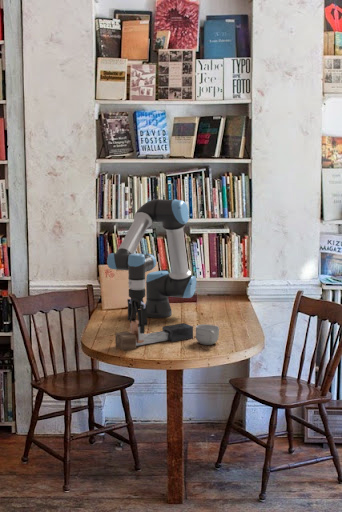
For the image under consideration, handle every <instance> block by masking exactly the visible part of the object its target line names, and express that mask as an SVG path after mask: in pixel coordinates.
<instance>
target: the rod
mask: <svg viewBox="0 0 342 512" xmlns="http://www.w3.org/2000/svg"><path fill="white" fill-rule="evenodd" d="M138 325H139V321H138V319H136V320H134V321H131V322H130V333H132V334H134V335H136V347H138V346H142V345H148V344H149V345H150V344H155V343H159V342H166V341H170V332H169V331H167V330H166V331H156V332H150V333H144V340H138Z"/></svg>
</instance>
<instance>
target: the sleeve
mask: <svg viewBox="0 0 342 512" xmlns="http://www.w3.org/2000/svg"><path fill="white" fill-rule="evenodd" d="M161 330H162V331H166V330H167V331H169V332H170V340H169V342H170V343H174V342H179V341H185V340H190V339H193V338H194V332H193V331H194V326H192V325H191V324H190V325H189V324H188V323H184V322H183V323H177V324H175V323H174V324H169V325H165V326H162V329H161Z"/></svg>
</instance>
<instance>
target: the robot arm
mask: <svg viewBox="0 0 342 512" xmlns="http://www.w3.org/2000/svg"><path fill="white" fill-rule="evenodd" d="M189 215H190V211H189V207H188V205H187V203H186V202H185V201H184V200H182V199H159V198H155V199H151V200H149V201H147V202H145V203H144V204H142V205H141V206H140V207H139V208H138V209H137V211H136V212H135V213H134V215H133V221H132V224H131V225H130V227H129V229H128V231H127V232H126V234H125V236H124V238H123V240H122V241H121V243H120V244H119V247H118V249H117V250H116V252H111V253H108V255H107V260H106V264H107V267H108V268H109V269H111V270H115V271H128V282H127V284H128V297H129V298H128V299H127V321H129V323H131V321H134V320H138V321H139V325H138V340H144V334H145V326H148V318H152V319H155V318H156V319H163V318H168V317H171V316H172V312H173V311H172V307H171V304H170V302H169V297H172V298H182V299H184V298H185V299H189V298H193V296H194V294H195V292H196V289H197V277H196V276H195V275H193V274H192V271H191V270H190V269H189V266H188V257H187V251H186V241H185V234H184V231H185V230H184V228H185V226H186V224H187V223H188V221H189V217H190V216H189ZM155 223H161V224H162V229H164V230H165V231H166V239H167V248H168V254H169V255H168V256H169V261H170V272H169V271H168V270H156V271H152V270H153V269H155V267H156V265H157V258H156V257H155V256H154V255H153V254H151V253H145V254H144V253H135V252H136V250H137V248H138V246H139V245H140V242H141V241H142V239H143V237H144V235H145V233H146V231H147V229H148V228H150V227H151V226H152V224H155ZM150 271H152V272H150ZM147 272H149V273H147ZM146 273H147V275H146ZM144 298H146V300H145V302H144Z"/></svg>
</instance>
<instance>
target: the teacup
mask: <svg viewBox="0 0 342 512" xmlns="http://www.w3.org/2000/svg"><path fill="white" fill-rule="evenodd" d="M219 334H220V327H219V326H218V325H214V324H204V323H203V324H202V323H201V324H198V325H196V326H195V340H196V341H197V342H198V343H199V344H200V345H204V346H210V345H211V346H213V345H214V344H216V342H218V341H219V336H220V335H219Z"/></svg>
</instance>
